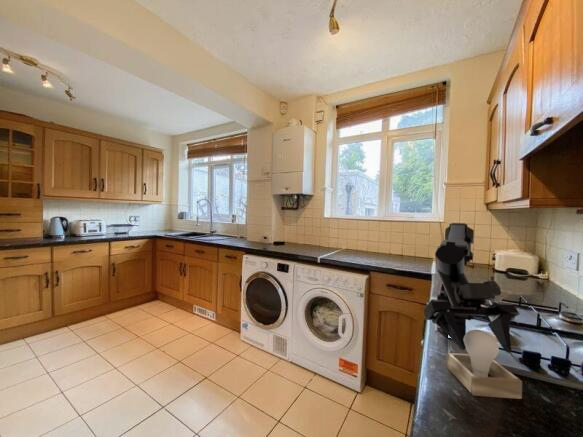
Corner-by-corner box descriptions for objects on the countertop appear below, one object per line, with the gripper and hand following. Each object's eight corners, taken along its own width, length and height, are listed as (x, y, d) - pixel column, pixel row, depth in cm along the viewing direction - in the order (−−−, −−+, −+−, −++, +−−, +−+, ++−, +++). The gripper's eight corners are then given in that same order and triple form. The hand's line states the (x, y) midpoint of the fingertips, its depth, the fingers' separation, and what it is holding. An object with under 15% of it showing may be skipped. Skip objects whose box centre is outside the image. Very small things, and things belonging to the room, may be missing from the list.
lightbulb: (464, 368, 57) (464, 322, 57) (497, 379, 54) (498, 330, 54) (461, 382, 53) (462, 331, 53) (498, 395, 49) (499, 341, 49)
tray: (446, 367, 58) (447, 352, 58) (487, 369, 57) (487, 355, 57) (473, 395, 49) (473, 378, 49) (521, 398, 48) (522, 381, 48)
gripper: (430, 265, 57) (458, 334, 46) (513, 268, 56) (562, 340, 45) (415, 289, 65) (435, 352, 54) (487, 292, 64) (523, 357, 53)
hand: (486, 350), depth 51 cm, fingers open, 9 cm apart
